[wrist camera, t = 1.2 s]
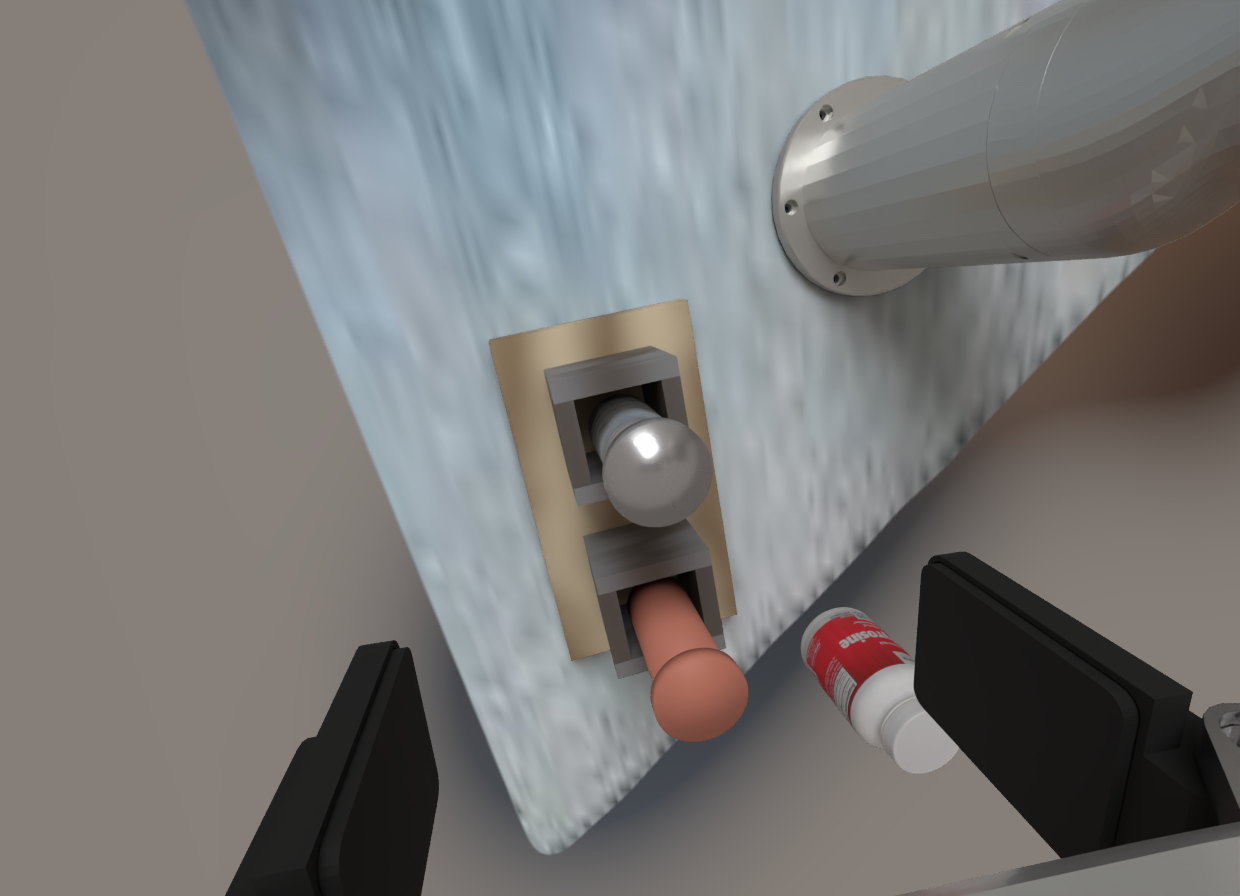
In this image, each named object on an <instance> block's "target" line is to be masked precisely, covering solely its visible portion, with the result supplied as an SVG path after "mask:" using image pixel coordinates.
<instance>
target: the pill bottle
mask: <svg viewBox="0 0 1240 896" xmlns="http://www.w3.org/2000/svg"><path fill="white" fill-rule="evenodd" d="M801 655H802V658H803V661H804V663H805V664H806V666H807V668H808V669H809V671H810V672H811V673H812V675H813V676H814V677H815V678H816V680H817V681H818V682H819V684H820V685H821V686H822V688H823V689H824V690H825V692H826V693H827V694H828V695H829V697H830V698H831V699H832V701H833V702H834V703H835V705H836V706H837V707H838V709H839V710H840V711H841V713H842V714H843V715H844V717H845V718H846V719H847V721H848V722H849V723H850V724H851V726H852V727H853V728H854V730H855V731H856V732H857V733H858V735H859V736H860V737H861V738H862V739H863V740H864V741H865V742H867V743H868V744H870V745H872V746H874V747H876V748H879V749H883V750H885V751H886V753H887V754H888V755H889V756H890V757H891V758H892V759H893V760H894V761H895V763H896V764H897V765H898V766H899V767H900V768H901V769H903V770H904V771H906V772H909V773H913V774H922V773H927V772H931V771H934V770H936V769H938V768H940V767H941V766H943V765H945V764H946V763H947V762H948V761H949V760H950V759H951V758H952V757H953V756H954V755H955V754H956V752H957V751H958V749H959V747H958V746H957V745H956V744H955V742H954V741H953V740H952V739H951V738H950V737H949V736H948V735H947V734H946V733H945V732H944V730H943V729H942V728H941V727H940V726H939V725H938V724H937V723H936V722H935V721H934V720H933V719H932V717H931V716H930V715H929V714H928V713H927V712H926V711H925V710H924V709H923V708H922V706H921V705H920V704H919V702H918V700H917V698H916V695H915V692H914V685H913V683H914V669H915V660H914V659H913V658H912V657H911V656H910V655H909V654H908V653H907V652H905V651H904V650H903V649H902V648H901V647H900V646H899V645H898V644H897V643H896V642H895V641H894V640H893V639H892V638H890V637H889V636H888V635H887V634H886V633H885V632H884V631H883V630H882V629H881V628H880V627H879V626H878V625H876V624H875V623H874V622H873V621H872V620H871V619H870V618H869V617H868V616H866V615H865V614H864V613H862V612H861V611H859V610H856V609H853V608H848V607H839V608H834V609H830V610H828V611H825V612H823V613H821V614H820V615H818V616H817V617H816V618H815V619H814V620H813V621H812V622H811V623H810V624H809V626H808V627H807V629H806V631H805V632H804V635H803V637H802V641H801Z"/></svg>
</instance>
